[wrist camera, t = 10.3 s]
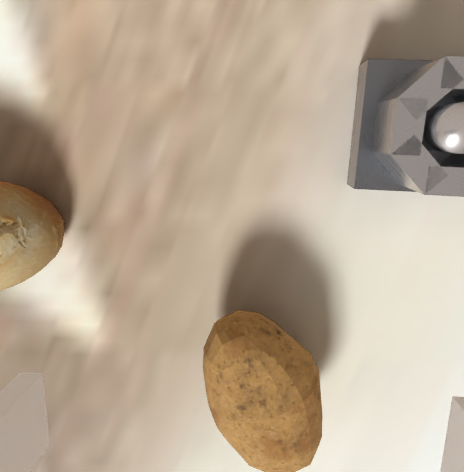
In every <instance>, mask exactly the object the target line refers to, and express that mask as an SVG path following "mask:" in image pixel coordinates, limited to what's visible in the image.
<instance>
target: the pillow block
mask: <svg viewBox="0 0 464 472" xmlns="http://www.w3.org/2000/svg"><path fill="white" fill-rule="evenodd" d="M431 62H433V61H428V60H383V59H368V60H366V61H365V62H364V63H362V64H361V65H360V66H359V75H358V84H357V94H356V104H355V113H354V123H353V132H352V142H351V152H350V161H349V171H348V181H347V184H348V185H349V186H351V187H352V188H354V189H370V190H391V191H412V192H417V191H414V190H412V189H409V188H407V187H404V186H402V185H400V184H399V182H398V181H397V180H396V179H395V178H394V177H393V175H392V174H391V173H390V172H389V171H388V170H387V168H386V167H385V166H384V165H383V164H382V163H381V161H380V160H379V159H378V158H377V157H376V156H375V154H374V153H373V152H372V146H373V137H374V128H375V120H376V111H377V103H379V102H380V101H381V100H382V99H383V98H384V97H385V96H386V95H388V94H389V93H390V92H391V91H392V90H393V89H394V88H395V87H397V86H398V85H399V84H400V83H401V82H402V81H403V80H404V79H406V78H407V77H408V76H409V75H410V74H411V73H412V72H413V71H415V70H416V69H417V68H420V67H422V66H424V65H426V64H429V63H431ZM422 145H423V146H424V147H425V148H426V149H427V151H428V152H429V153H430V154H431V155H432V157H433V158H434V159H435V160H436V161H437V162H442V161H443V160H445V159H446V158H447V157H448V156H450V155H451V154H452V153H457V154H464V102H460V103H456V102H455V101H454V100H453V98H452V97H443V98H442V99H440V100H439V101H438V102H437V103H436V104H435V105H433V106H432V107H431V108H430V109H429V110H428V111H426V118H425V125H424V132H423V139H422Z"/></svg>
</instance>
